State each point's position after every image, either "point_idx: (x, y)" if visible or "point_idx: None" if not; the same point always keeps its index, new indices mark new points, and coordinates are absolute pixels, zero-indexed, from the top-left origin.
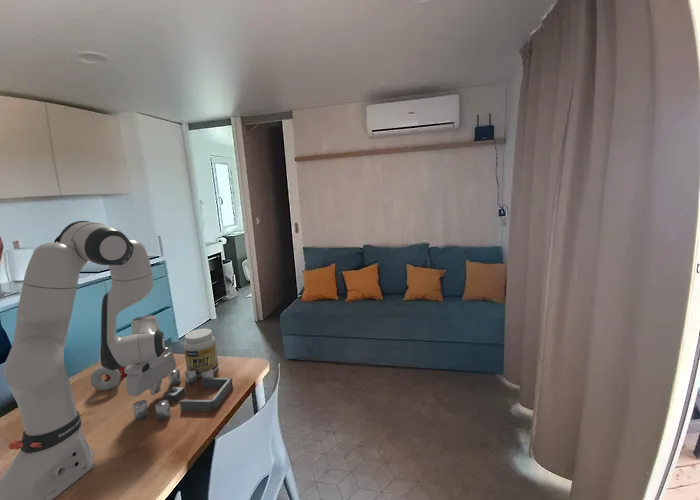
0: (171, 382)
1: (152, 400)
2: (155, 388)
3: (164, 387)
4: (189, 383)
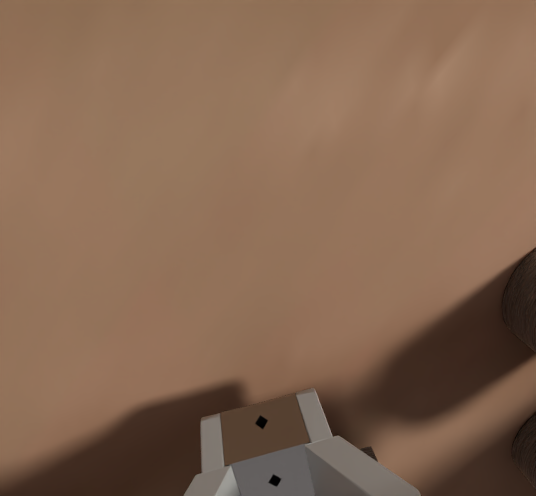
0: (531, 328)
1: (188, 376)
2: (276, 473)
3: (453, 256)
4: (528, 477)
